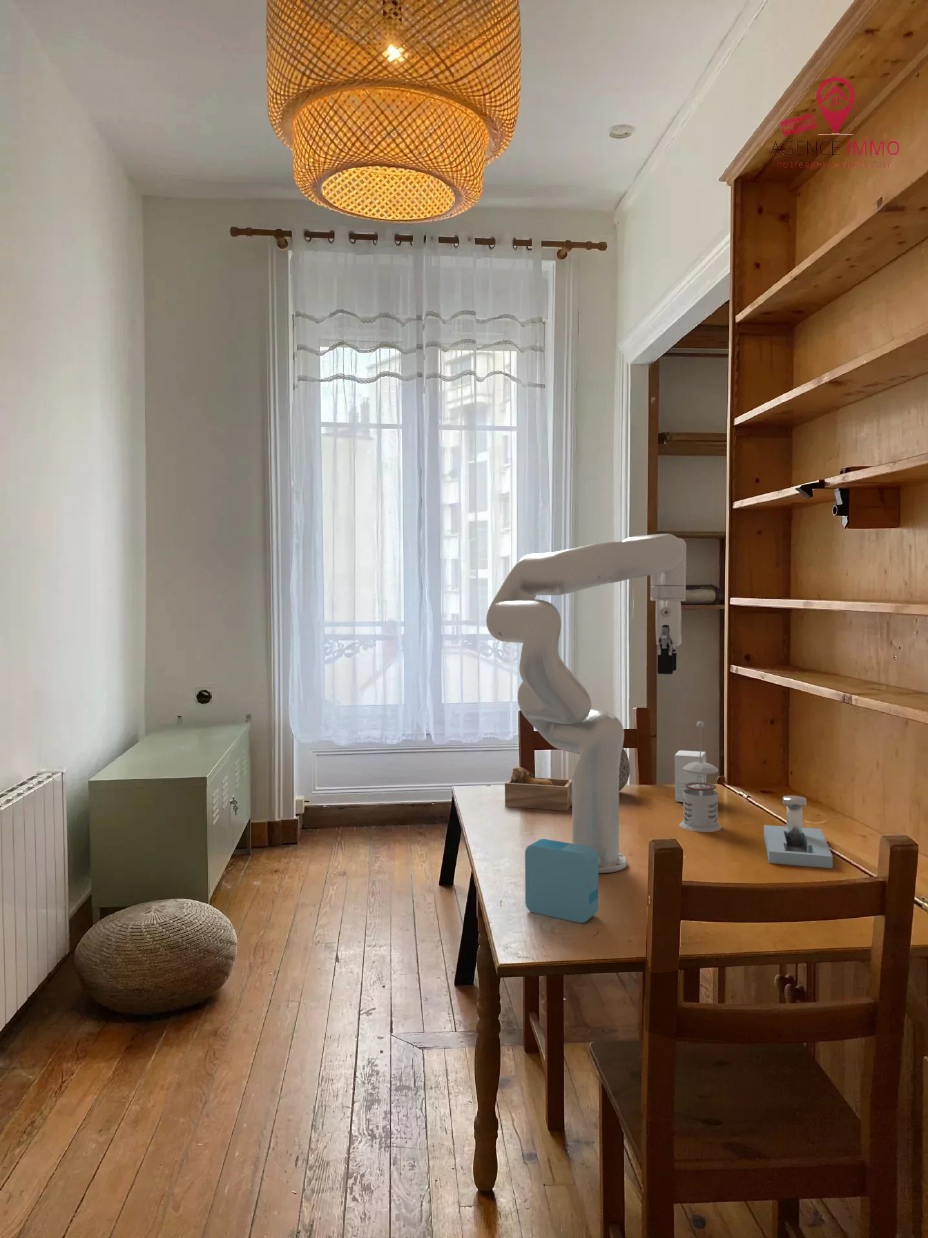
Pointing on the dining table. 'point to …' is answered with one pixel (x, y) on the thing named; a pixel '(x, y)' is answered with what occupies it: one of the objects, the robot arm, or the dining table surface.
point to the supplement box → (685, 777)
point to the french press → (700, 798)
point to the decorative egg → (623, 769)
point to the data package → (561, 880)
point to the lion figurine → (527, 777)
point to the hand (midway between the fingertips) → (667, 672)
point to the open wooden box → (540, 794)
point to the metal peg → (794, 819)
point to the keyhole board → (797, 848)
